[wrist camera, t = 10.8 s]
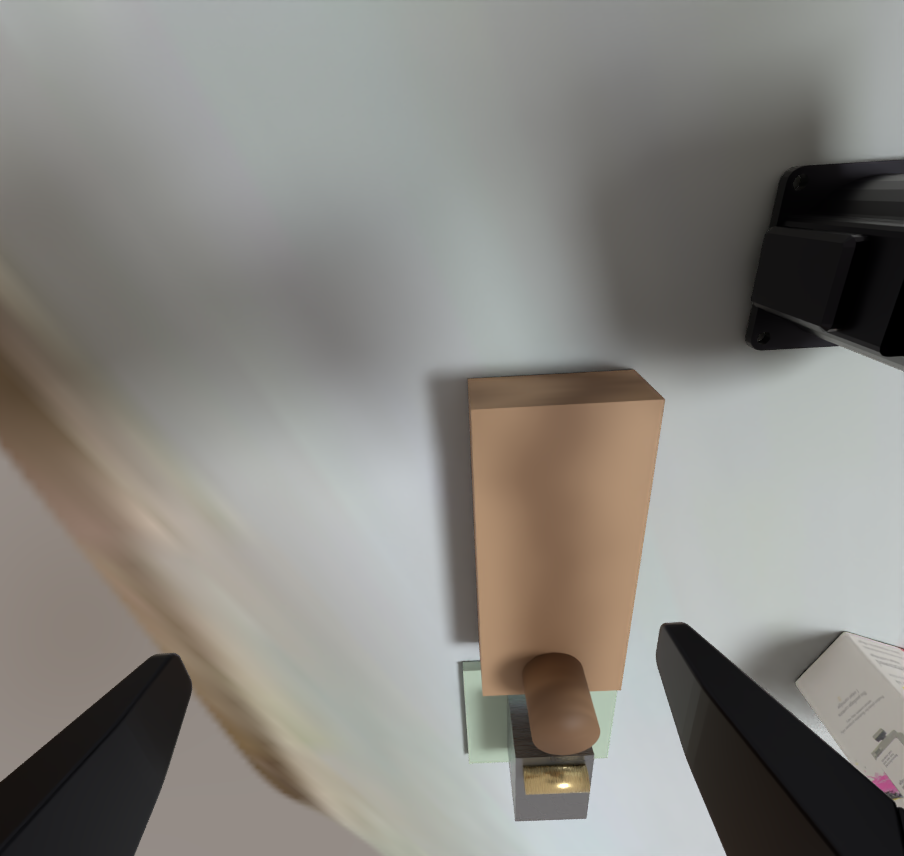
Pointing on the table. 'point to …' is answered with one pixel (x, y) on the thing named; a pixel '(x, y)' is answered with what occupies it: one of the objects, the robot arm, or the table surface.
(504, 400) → the body
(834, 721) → the ink cartridge box
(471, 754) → the mat
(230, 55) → the table surface
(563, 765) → the lever cap
